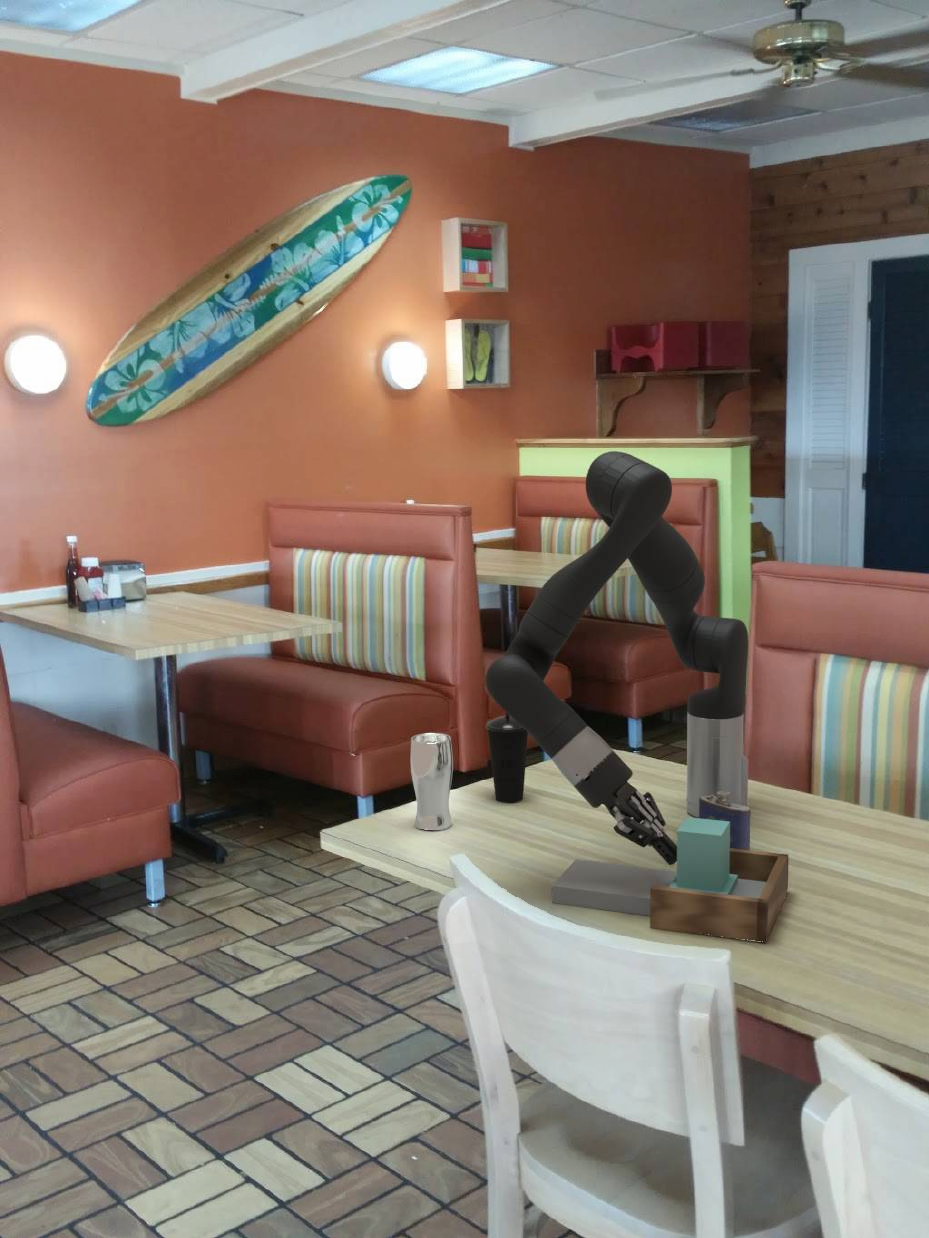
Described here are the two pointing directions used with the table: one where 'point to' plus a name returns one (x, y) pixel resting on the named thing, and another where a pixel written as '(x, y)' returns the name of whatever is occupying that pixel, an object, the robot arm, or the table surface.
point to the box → (726, 901)
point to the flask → (728, 817)
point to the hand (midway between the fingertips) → (677, 859)
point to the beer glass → (432, 779)
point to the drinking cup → (507, 758)
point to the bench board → (622, 886)
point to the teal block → (704, 857)
